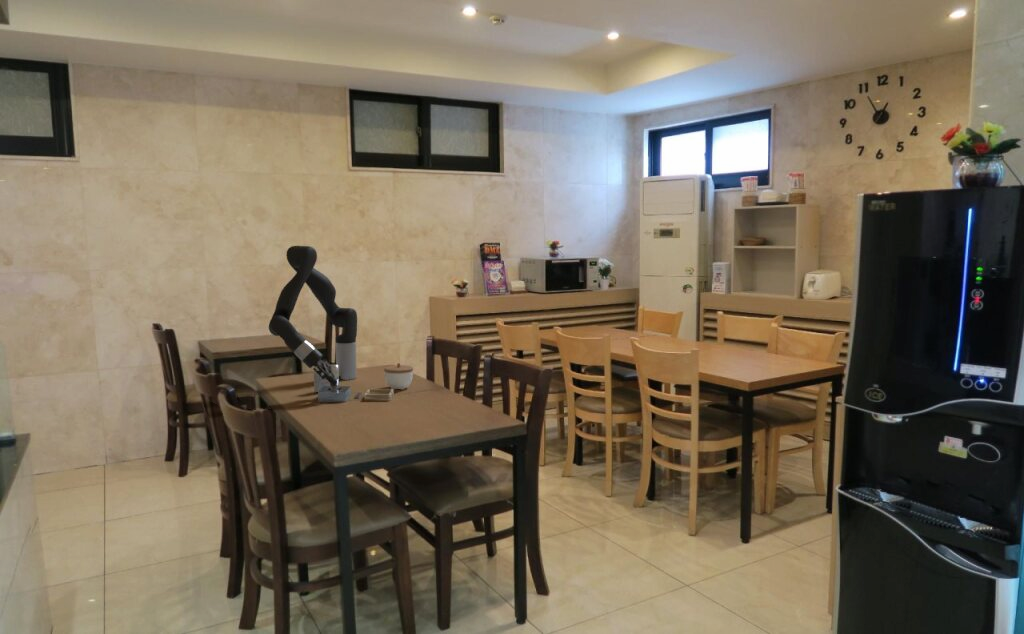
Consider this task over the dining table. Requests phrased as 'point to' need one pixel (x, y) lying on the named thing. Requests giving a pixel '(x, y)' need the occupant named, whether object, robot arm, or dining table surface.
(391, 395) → the tray
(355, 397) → the bar
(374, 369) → the dining table surface
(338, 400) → the socket block
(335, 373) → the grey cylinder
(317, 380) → the medicine box
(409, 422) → the dining table surface
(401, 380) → the lidded bowl
